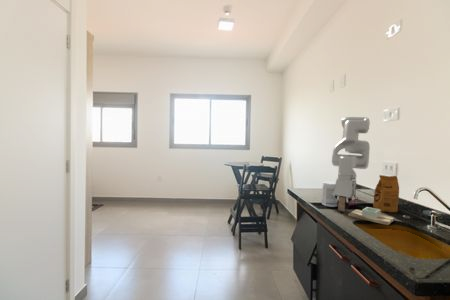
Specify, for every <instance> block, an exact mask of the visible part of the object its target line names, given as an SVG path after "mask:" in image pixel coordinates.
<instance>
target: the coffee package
mask: <svg viewBox="0 0 450 300" xmlns="http://www.w3.org/2000/svg"><path fill="white" fill-rule="evenodd" d="M373 193H374V194H373V202H372V208H375V209H380V210H381V213H385V212H386V213H398V210H399V199H400V184H399V179H398V175H391V176H387V175H381V174H380V175H379V180H378V182H377V184H376V186H375V189H374V192H373Z"/></svg>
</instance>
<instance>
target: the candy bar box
mask: <svg viewBox="0 0 450 300" xmlns="http://www.w3.org/2000/svg"><path fill="white" fill-rule="evenodd" d="M353 182H354V195H355V196H356V192H357V191H356V190H357V179H356V180H353ZM356 197H357V196H356ZM350 198H352V197H350ZM355 205H356V200H355V199H354V200H351V201H350V202H349V206H355Z"/></svg>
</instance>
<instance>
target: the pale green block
mask: <svg viewBox="0 0 450 300" xmlns="http://www.w3.org/2000/svg"><path fill="white" fill-rule="evenodd" d="M381 213H382V212H381V210H380V209H375V208H374V207H369V206H366V207H365V208H362V216H367V217H371V218H377V217H379V216H380V214H381Z"/></svg>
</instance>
